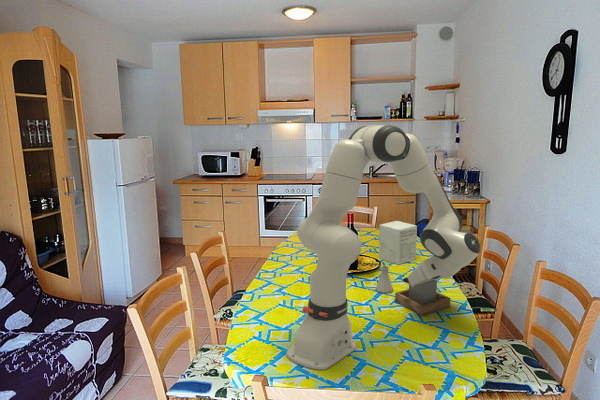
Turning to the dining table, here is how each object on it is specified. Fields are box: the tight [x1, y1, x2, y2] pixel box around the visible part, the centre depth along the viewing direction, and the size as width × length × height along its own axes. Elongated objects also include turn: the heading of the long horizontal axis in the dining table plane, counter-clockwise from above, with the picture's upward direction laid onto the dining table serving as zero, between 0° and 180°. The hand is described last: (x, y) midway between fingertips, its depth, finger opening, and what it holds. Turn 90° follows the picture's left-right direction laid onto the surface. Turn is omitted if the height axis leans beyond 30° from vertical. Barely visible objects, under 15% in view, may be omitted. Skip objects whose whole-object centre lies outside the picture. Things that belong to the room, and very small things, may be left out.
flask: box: [375, 265, 394, 294], centre depth 164 cm, size 7×7×10 cm
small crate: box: [408, 280, 438, 305], centre depth 150 cm, size 8×6×9 cm
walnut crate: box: [394, 288, 451, 317], centre depth 151 cm, size 14×14×4 cm
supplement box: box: [378, 220, 418, 265], centre depth 200 cm, size 13×13×18 cm
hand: (422, 282), depth 150 cm, fingers open, 8 cm apart
